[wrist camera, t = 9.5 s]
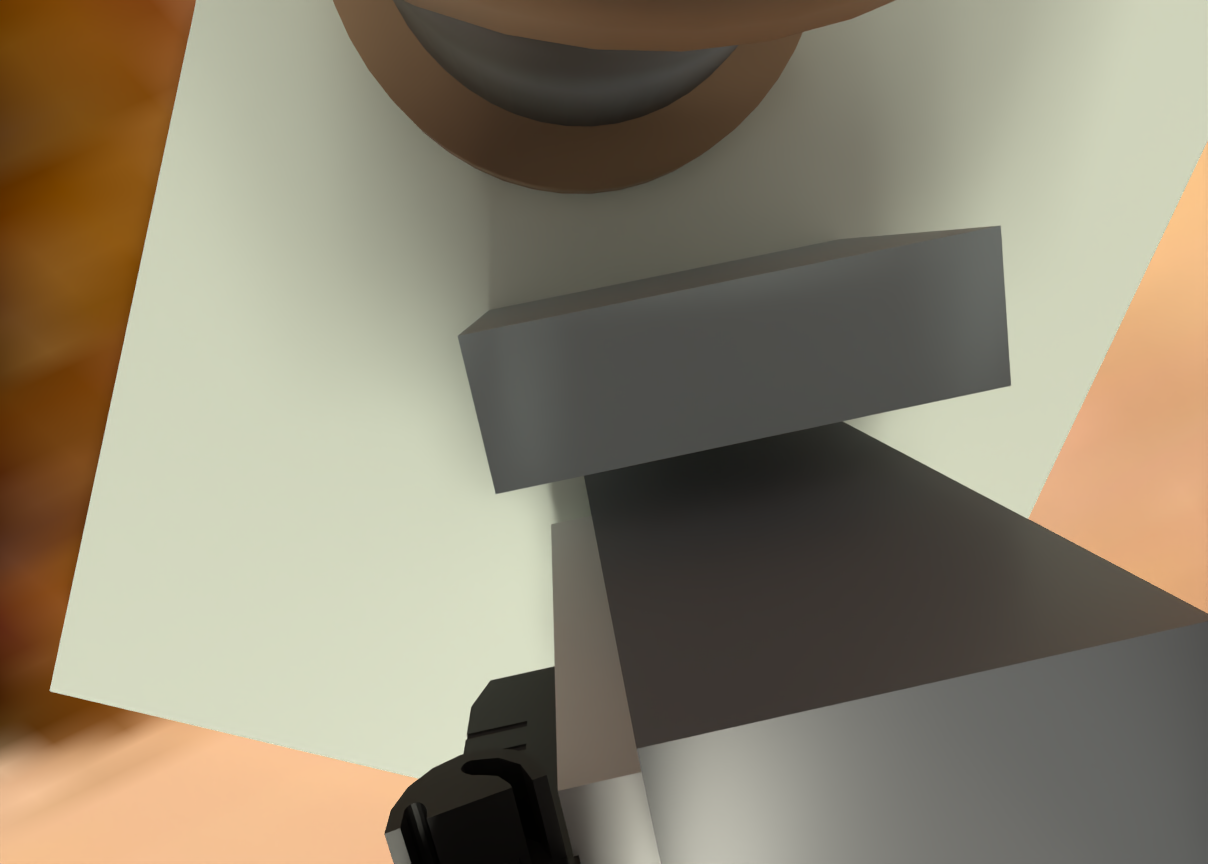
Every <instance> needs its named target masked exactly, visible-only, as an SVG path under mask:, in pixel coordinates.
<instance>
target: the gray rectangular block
mask: <svg viewBox="0 0 1208 864" xmlns="http://www.w3.org/2000/svg"><path fill="white" fill-rule="evenodd" d="M584 479H585V484H586V489H587V495H588V500H589V505H590V510H591V515H592V521H593V526H594V531H595V536H596V541H597V546H598V552H599V557H600V562H601V567H602V572H603V577H604V583H605V588H606V593H607V598H608V603H609V609H610V614H611V619H612V624H613V629H614V634H615V640H616V645H617V650H618V655H619V660H620V666H621V671H622V676H623V681H624V686H625V691H626V697H627V702H628V707H629V712H630V717H631V723H632V728H633V733H634V738H635V743H636V748H637V753H638V758H639V763H640V767H641V772H642V777H643V782H644V786H645V791H646V796H647V801H648V805H649V810H650V815H651V820H652V824H653V829H654V834H655V839H656V843H657V848H658V853H659V858H660V862H661V864H1208V614H1207V613H1205V612H1204V611H1202V610H1200V609H1198V608H1196V607H1194V606H1192V605H1190V604H1188V603H1186V602H1185V601H1183V600H1181V599H1179V598H1177V597H1175V596H1173V595H1171V594H1169V593H1168V592H1166V591H1164V590H1162V589H1160V588H1158V587H1156V586H1154V585H1152V584H1150V583H1149V582H1147V581H1145V580H1143V579H1141V578H1139V577H1137V576H1135V575H1133V574H1131V573H1130V572H1128V571H1126V570H1124V569H1122V568H1120V567H1118V566H1116V565H1114V564H1112V563H1111V562H1109V561H1107V560H1105V559H1103V558H1101V557H1099V556H1097V555H1095V554H1093V553H1092V552H1090V551H1088V550H1086V549H1084V548H1082V547H1080V546H1078V545H1076V544H1075V543H1073V542H1071V541H1069V540H1067V539H1065V538H1063V537H1061V536H1059V535H1057V534H1056V533H1054V532H1052V531H1050V530H1048V529H1046V528H1044V527H1042V526H1040V525H1038V524H1037V523H1035V522H1033V521H1031V520H1029V519H1027V518H1025V517H1023V516H1021V515H1019V514H1018V513H1016V512H1014V511H1012V510H1010V509H1008V508H1006V507H1004V506H1002V505H1000V504H999V503H997V502H995V501H993V500H991V499H989V498H987V497H985V496H983V495H981V494H980V493H978V492H976V491H974V490H972V489H970V488H968V487H966V486H964V485H963V484H961V483H959V482H957V481H955V480H953V479H951V478H949V477H947V476H945V475H944V474H942V473H940V472H938V471H936V470H934V469H932V468H930V467H928V466H926V465H925V464H923V463H921V462H919V461H917V460H915V459H913V458H911V457H909V456H907V455H906V454H904V453H902V452H900V451H898V450H896V449H894V448H892V447H890V446H888V445H887V444H885V443H883V442H881V441H879V440H877V439H875V438H873V437H871V436H869V435H868V434H866V433H864V432H862V431H860V430H858V429H856V428H854V427H852V426H851V425H849V424H847V423H845V422H843V421H841V422H837V423H832V424H827V425H822V426H818V427H813V428H808V429H803V430H799V431H794V432H789V433H784V434H780V435H775V436H770V437H765V438H761V439H756V440H751V441H746V442H742V443H737V444H732V445H727V446H723V447H718V448H713V449H708V450H704V451H699V452H694V453H689V454H685V455H680V456H675V457H670V458H666V459H661V460H656V461H651V462H647V463H642V464H637V465H632V466H628V467H623V468H618V469H613V470H609V471H604V472H599V473H594V474H590V475H585V476H584Z"/></svg>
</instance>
